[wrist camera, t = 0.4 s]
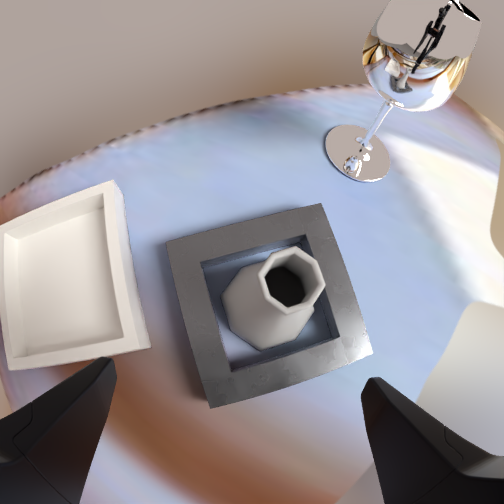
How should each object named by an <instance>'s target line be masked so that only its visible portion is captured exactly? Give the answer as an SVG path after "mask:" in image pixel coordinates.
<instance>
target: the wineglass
mask: <svg viewBox="0 0 504 504" xmlns="http://www.w3.org/2000/svg"><path fill="white" fill-rule="evenodd" d="M481 24H482V21H481V19H480V18H479V17H478V16H477V15H476V14H475V13H474V12H473V11H472V10H471V9H469V8H468V7H467V6H466V5H464V4H463V3H462V2H460V1H459V0H390V2H389V3H388V4H387V6H386V7H385V9H384V10H383V11H382V13H381V14H380V15H379V17H378V18H377V20H376V22H375V23H374V25H373V27H372V29H371V30H370V32H369V35H368V36H367V38H366V40H365V44H364V47H363V66H364V70H365V73H366V76H367V79H368V81H369V82H370V84H371V85H372V87H373V88H374V89H375V91H376V92H377V94H378V95H379V96H380V97H381V98H383V103H382V106H381V108H380V110H379V112H378V114H377V116H376V118H375V119H374V121H373V123H372V124H371V126H370V128H369V129H368V130H366V129H365V128H362V127H359V126H355V125H340V126H337V127H335V128H333V129H332V130H331V131H330V132H329V133H328V135H327V137H326V141H325V146H326V151H327V154H328V156H329V158H330V160H331V161H332V163H333V164H334V165H335V166H336V167H337V168H338V169H339V170H340V171H341V172H342V173H344V174H345V175H347V176H348V177H350V178H352V179H355V180H358V181H361V182H376V181H379V180H381V179H383V178H384V177H385V176H386V175H387V173H388V171H389V168H390V157H389V153H388V151H387V149H386V147H385V145H384V144H383V143H382V142H381V140H380V139H379V138H378V137H377V136H376V135H374V133H375V132H376V130H377V129H378V127H379V125H380V124H381V122H382V121H383V119H384V118H385V116H386V115H387V113H388V112H389V111H390V110H391V109H392V108H393V107H394V106H395V107H397V108H399V109H402V110H408V111H413V112H425V111H431V110H434V109H436V108H438V107H440V106H442V105H443V104H445V103H446V102H447V101H448V100H449V99H450V97H451V96H452V95H453V94H454V92H455V91H456V89H457V87H458V85H459V84H460V82H461V80H462V78H463V76H464V74H465V72H466V69H467V67H468V64H469V62H470V59H471V57H472V54H473V51H474V48H475V45H476V42H477V38H478V35H479V31H480V28H481Z"/></svg>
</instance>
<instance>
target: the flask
mask: <svg viewBox="0 0 504 504" xmlns="http://www.w3.org/2000/svg"><path fill="white" fill-rule="evenodd" d="M325 286H326V284H325V281H324V279H323V276H322V273H321V270H320V268H319V265H318V262H317V260H315V259H314V258H312V257H311V256H310V255H308V254H307V253H305V252H304V251H302V250H301V249H300V248H298V247H297V246H294V247H290V248H287V249H283V250H280V251H276V252H273V253H271V254H270V256H269V257H268V258H267V260H266V261H262V262H259V263H255V264H252V265H248V266H245V267H242V268H241V269H240V270H239V272H238V273H237V274H236V275H235V277H234V278H233V279H232V281H231V282H230V283H229V285H228V286H227V287H226V289H225V290H224V291H223V293H222V294H221V295H220V297H221V300H222V304H223V307H224V310H225V313H226V317H227V320H228V323H229V326H230V330H231V331H232V332H234V333H235V334H236V335H238V336H239V337H241V338H242V339H243V340H245V341H246V342H248V343H249V344H251V345H252V346H253V347H255V348H256V349H258V350H259V351H264V350H267V349H270V348H273V347H276V346H279V345H282V344H285V343H288V342H291V341H294V340H296V338H297V337H298V335H299V334H300V332H301V331H302V329H303V328H304V326H305V325H306V323H307V322H308V320H309V319H310V317H311V316H312V314H313V313H314V311H315V310H314V307H313V304H314V303H315V301H316V300H317V298H318V297H319V295H320V293H321V292H322V290H323V289H324V287H325Z"/></svg>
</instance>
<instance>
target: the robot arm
mask: <svg viewBox="0 0 504 504" xmlns="http://www.w3.org/2000/svg"><path fill="white" fill-rule="evenodd" d="M116 381H117V374H116V370H115V365H114V361H113V359H112V358H109V357H104V356H101V357H99V358H98V359H96V360H95V361H93V362H92V363H90V364H89V365H87V366H86V367H84V368H83V369H81V370H79V371H78V372H76V373H75V374H73V375H72V376H70V377H69V378H67V379H66V380H64V381H63V382H61V383H59V384H58V385H56V386H55V387H53V388H52V389H50V390H49V391H47V392H46V393H44V394H42V395H41V396H39V397H38V398H36V399H35V400H33V401H32V402H30V403H28V404H27V405H25V406H24V407H22V408H20V409H19V410H17V411H15V412H14V413H12V414H10V415H8V416H6V417H4V418H2V419H0V504H79V503H80V499H81V496H82V492H83V489H84V485H85V482H86V479H87V476H88V472H89V469H90V466H91V463H92V460H93V457H94V454H95V451H96V448H97V445H98V442H99V439H100V436H101V434H102V431H103V428H104V425H105V423H106V420H107V417H108V413H109V409H110V405H111V401H112V397H113V393H114V389H115V385H116ZM361 402H362V408H363V414H364V420H365V426H366V432H367V436H368V439H369V443H370V447H371V451H372V454H373V458H374V462H375V465H376V470H377V474H378V477H379V482H380V486H381V490H382V495H383V499H384V503H385V504H504V456H496V455H492V454H490V453H488V452H486V451H484V450H483V449H481V448H479V447H477V446H475V445H474V444H472V443H470V442H469V441H467V440H465V439H464V438H462V437H461V436H459V435H457V434H456V433H455V432H453V431H452V430H450V429H449V428H448V427H446V426H444V425H443V424H442V423H441V422H439V421H438V420H437V419H435V418H434V417H433V416H431V415H430V414H428V413H427V412H426V411H424V410H423V409H422V408H420V407H419V406H418V405H416V404H415V403H414V402H412V401H411V400H410V399H408V398H407V397H406V396H404V395H403V394H402V393H400V392H399V391H398V390H396V389H395V388H394V387H392V386H391V385H390V384H388V383H387V382H386V381H384V380H383V379H382V378H380V377H372V378H369V379H368V381H367V383H366V385H365V387H364V389H363V391H362V393H361Z"/></svg>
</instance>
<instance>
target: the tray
mask: <svg viewBox="0 0 504 504" xmlns="http://www.w3.org/2000/svg"><path fill="white" fill-rule="evenodd" d="M0 317H1V326H2V333H3V340H4V346H5V352H6V358H7V363H8V368H9V370H27V369H35V368H42V367H49V366H56V365H63V364H69V363H75V362H81V361H87V360H92V359H98V358H99V357H101V356H104V357H109V356H114V355H119V354H124V353H129V352H133V351H138V350H143V349H147V348H152V347H151V343H150V340H149V336H148V332H147V328H146V323H145V319H144V315H143V310H142V306H141V301H140V296H139V292H138V287H137V282H136V276H135V271H134V265H133V259H132V253H131V247H130V241H129V234H128V226H127V219H126V211H125V202H124V195H123V194H122V192H121V191H120V189H119V188H118V186H117V185H116V183H115V182H114V180H110V181H107V182H104V183H102V184H99V185H96V186H93V187H90V188H88V189H85V190H82V191H79V192H77V193H74V194H71V195H69V196H66V197H64V198H61V199H59V200H56V201H54V202H51V203H49V204H47V205H44V206H42V207H40V208H37V209H35V210H33V211H30V212H28V213H26V214H24V215H22V216H19V217H17V218H15V219H13V220H11V221H9V222H7V223H5V224H3V225H1V226H0Z"/></svg>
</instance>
